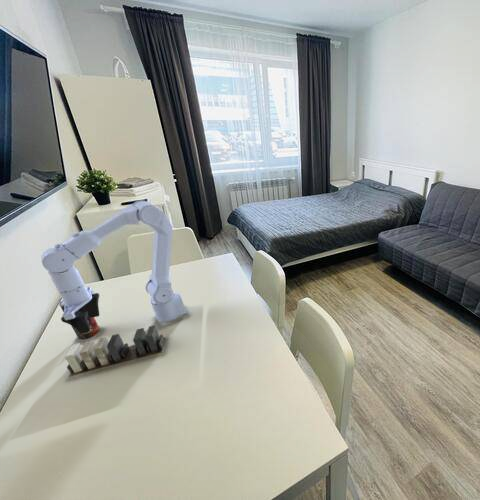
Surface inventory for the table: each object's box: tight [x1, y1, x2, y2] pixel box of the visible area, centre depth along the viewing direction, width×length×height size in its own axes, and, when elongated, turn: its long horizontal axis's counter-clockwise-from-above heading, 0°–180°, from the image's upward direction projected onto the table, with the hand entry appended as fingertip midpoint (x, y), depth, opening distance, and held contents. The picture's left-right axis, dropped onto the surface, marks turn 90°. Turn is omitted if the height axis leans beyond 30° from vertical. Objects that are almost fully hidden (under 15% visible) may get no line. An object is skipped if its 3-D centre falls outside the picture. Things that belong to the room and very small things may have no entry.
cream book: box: [64, 342, 83, 373], centre depth 80 cm, size 2×5×6 cm, turn 22°
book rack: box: [66, 324, 166, 378], centre depth 83 cm, size 24×7×8 cm, turn 112°
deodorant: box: [59, 300, 101, 341], centre depth 91 cm, size 6×6×15 cm
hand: (90, 323), depth 84 cm, fingers open, 7 cm apart
